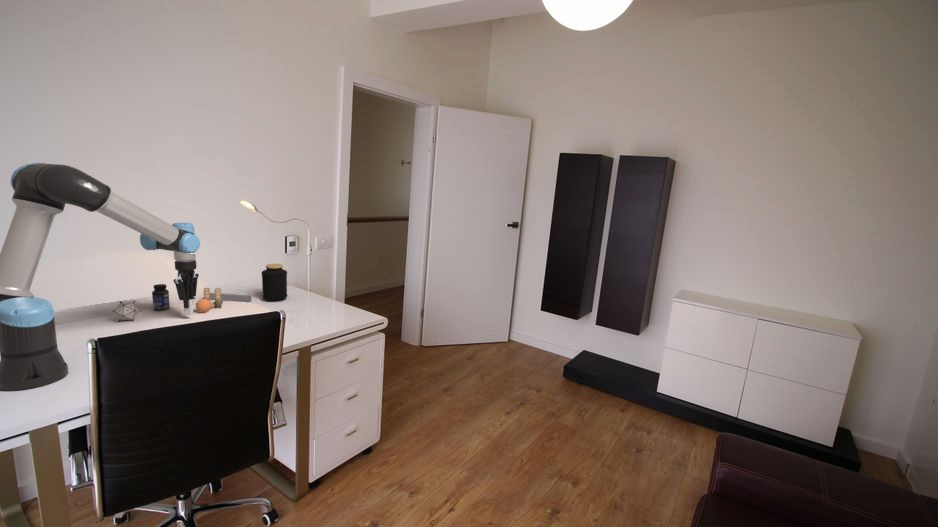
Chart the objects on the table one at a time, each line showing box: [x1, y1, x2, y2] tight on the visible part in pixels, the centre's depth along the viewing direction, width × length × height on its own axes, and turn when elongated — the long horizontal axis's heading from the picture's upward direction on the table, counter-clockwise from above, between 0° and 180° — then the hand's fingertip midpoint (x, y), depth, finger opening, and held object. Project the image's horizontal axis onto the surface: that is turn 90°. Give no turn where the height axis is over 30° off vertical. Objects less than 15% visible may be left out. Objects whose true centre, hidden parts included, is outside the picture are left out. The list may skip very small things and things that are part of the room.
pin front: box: [210, 300, 224, 310], centre depth 204 cm, size 2×2×9 cm
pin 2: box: [214, 288, 222, 309], centre depth 202 cm, size 2×2×9 cm
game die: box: [111, 300, 142, 322], centre depth 179 cm, size 9×8×10 cm
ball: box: [195, 298, 212, 313], centre depth 195 cm, size 6×6×6 cm
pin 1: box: [203, 287, 211, 302], centre depth 202 cm, size 2×2×9 cm
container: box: [261, 263, 289, 302], centre depth 219 cm, size 12×12×18 cm
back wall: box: [210, 292, 252, 303], centre depth 215 cm, size 2×22×3 cm, turn 89°
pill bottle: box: [151, 283, 171, 312], centre depth 195 cm, size 6×6×11 cm
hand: (188, 314), depth 185 cm, fingers closed
